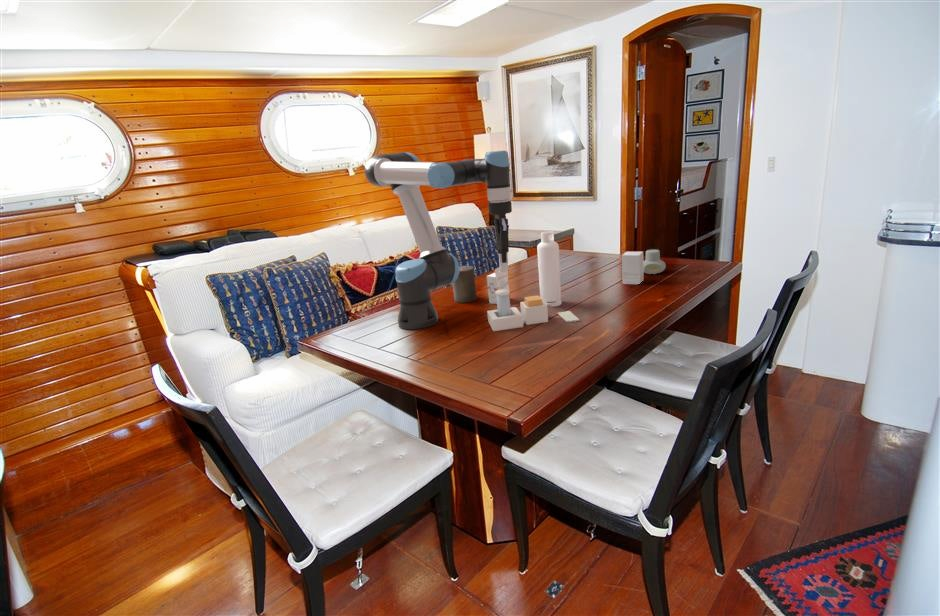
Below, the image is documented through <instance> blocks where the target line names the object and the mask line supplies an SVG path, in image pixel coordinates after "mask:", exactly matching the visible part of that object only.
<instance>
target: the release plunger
mask: <svg viewBox="0 0 940 616" xmlns="http://www.w3.org/2000/svg"><path fill="white" fill-rule="evenodd" d="M523 298H524V301H525V305H526V306H527V307H531V306H538V305H542V298H540V295H531V296H525V297H523Z"/></svg>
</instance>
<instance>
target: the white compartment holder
mask: <svg viewBox="0 0 940 616" xmlns="http://www.w3.org/2000/svg"><path fill="white" fill-rule="evenodd" d="M519 304H520V310H519V309H518V308H517V307H516V306H514V307H513V306H512V307H511V306H510V310H511V315H510V316H503V317H498V308H497V309H492V310H487V311H486V312H487V313H486V314H487V320H488V321H487V322H488V324H489V325H490V327H491V329H492V331H493V332H498V331H504V330H510V329H511V330H512V329H517V328H518V329H519V328H524V324H526V325H527V326H528V325H535V324H541V323H542V324H543V323H549V315H548V314H549V312H548V305H547V304H546V303H545V302H543V301H542V305H538V306H531V307H527V306H526V305H525V300H524V301H520V302H519Z"/></svg>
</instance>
